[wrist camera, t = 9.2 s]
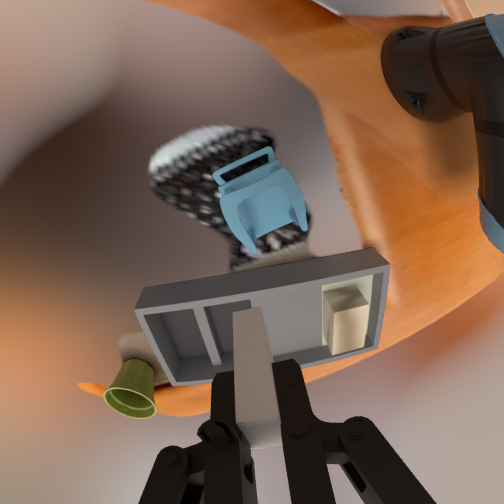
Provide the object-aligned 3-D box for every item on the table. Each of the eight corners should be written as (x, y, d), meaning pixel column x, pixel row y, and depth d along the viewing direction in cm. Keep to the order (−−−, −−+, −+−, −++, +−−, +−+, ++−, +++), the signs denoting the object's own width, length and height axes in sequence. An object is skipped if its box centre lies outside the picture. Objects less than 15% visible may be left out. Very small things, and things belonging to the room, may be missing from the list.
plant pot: (114, 345, 42) (100, 381, 34) (165, 358, 44) (157, 397, 36) (116, 376, 46) (105, 410, 38) (161, 388, 47) (155, 423, 40)
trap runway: (372, 247, 38) (390, 263, 33) (365, 328, 45) (377, 348, 40) (143, 287, 38) (133, 309, 33) (176, 362, 44) (172, 386, 39)
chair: (241, 229, 36) (248, 276, 25) (211, 172, 32) (203, 194, 21) (295, 204, 35) (327, 240, 24) (269, 145, 31) (292, 152, 20)
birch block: (355, 284, 38) (369, 304, 33) (352, 326, 41) (363, 346, 36) (322, 291, 38) (334, 312, 33) (322, 333, 41) (332, 355, 36)
